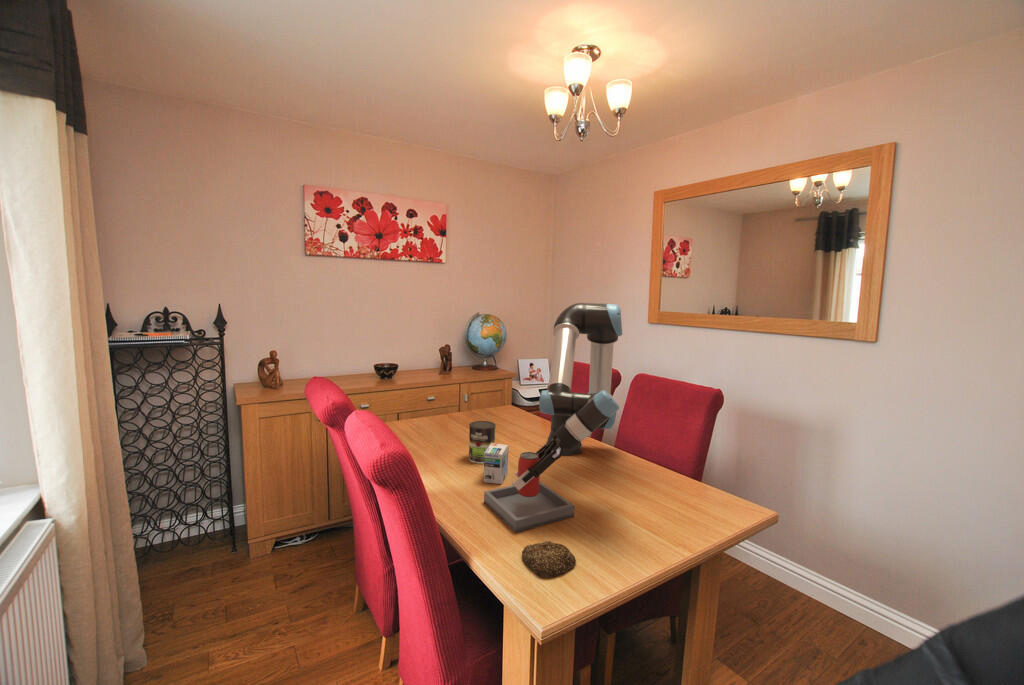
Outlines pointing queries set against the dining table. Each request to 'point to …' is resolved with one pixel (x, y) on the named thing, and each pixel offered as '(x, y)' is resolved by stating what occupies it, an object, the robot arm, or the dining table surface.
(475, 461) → the coffee can
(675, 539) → the dining table surface
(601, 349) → the robot arm
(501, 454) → the light bulb box
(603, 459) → the dining table surface
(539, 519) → the tray
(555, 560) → the bread roll
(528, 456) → the beer can
